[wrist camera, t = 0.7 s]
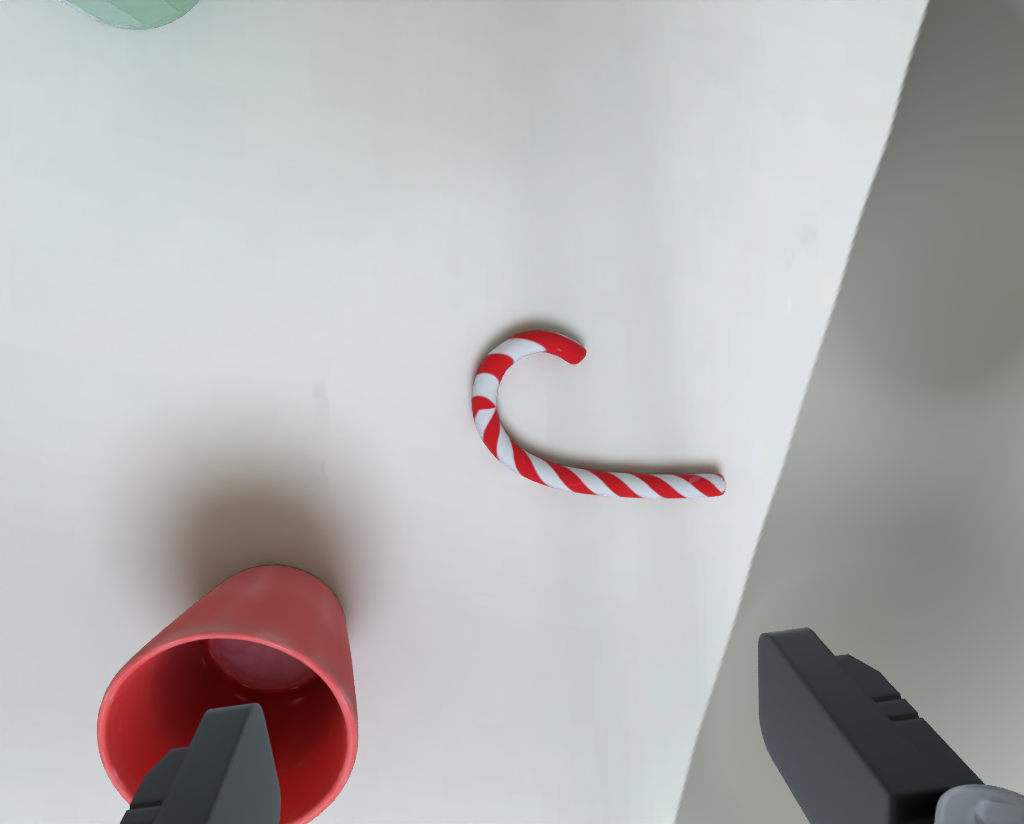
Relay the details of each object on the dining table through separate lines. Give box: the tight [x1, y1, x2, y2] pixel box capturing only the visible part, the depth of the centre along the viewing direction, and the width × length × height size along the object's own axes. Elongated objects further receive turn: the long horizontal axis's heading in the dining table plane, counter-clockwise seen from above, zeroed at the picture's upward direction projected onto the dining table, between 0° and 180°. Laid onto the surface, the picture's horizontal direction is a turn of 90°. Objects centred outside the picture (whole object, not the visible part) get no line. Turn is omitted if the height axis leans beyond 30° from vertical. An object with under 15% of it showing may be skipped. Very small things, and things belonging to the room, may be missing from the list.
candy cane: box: [472, 331, 726, 498], centre depth 40 cm, size 8×1×15 cm
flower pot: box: [97, 565, 358, 824], centre depth 37 cm, size 11×11×10 cm
